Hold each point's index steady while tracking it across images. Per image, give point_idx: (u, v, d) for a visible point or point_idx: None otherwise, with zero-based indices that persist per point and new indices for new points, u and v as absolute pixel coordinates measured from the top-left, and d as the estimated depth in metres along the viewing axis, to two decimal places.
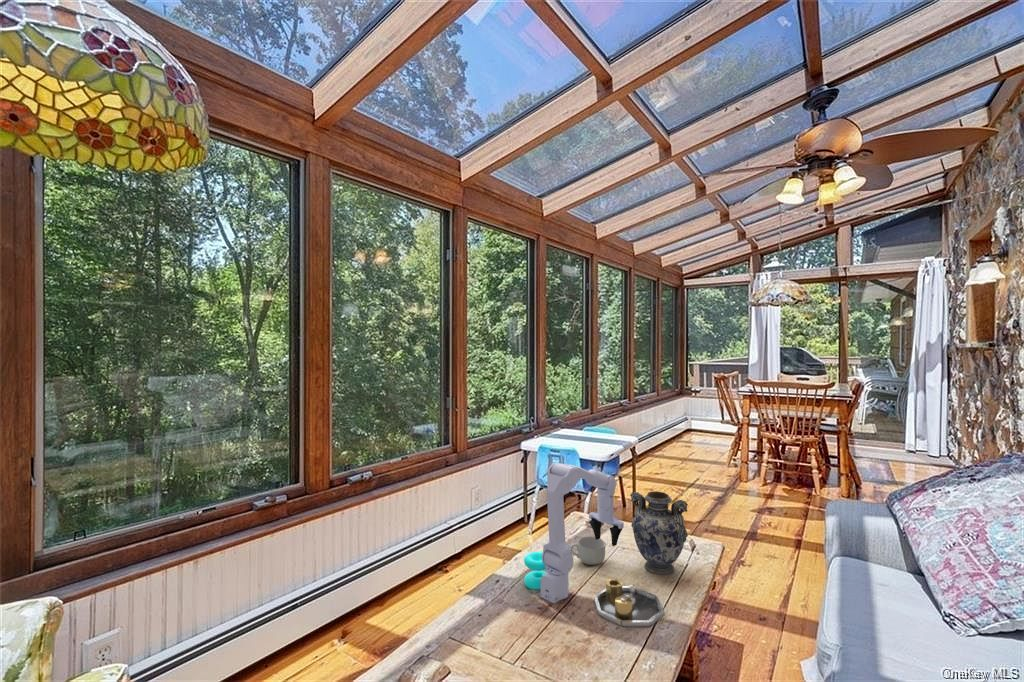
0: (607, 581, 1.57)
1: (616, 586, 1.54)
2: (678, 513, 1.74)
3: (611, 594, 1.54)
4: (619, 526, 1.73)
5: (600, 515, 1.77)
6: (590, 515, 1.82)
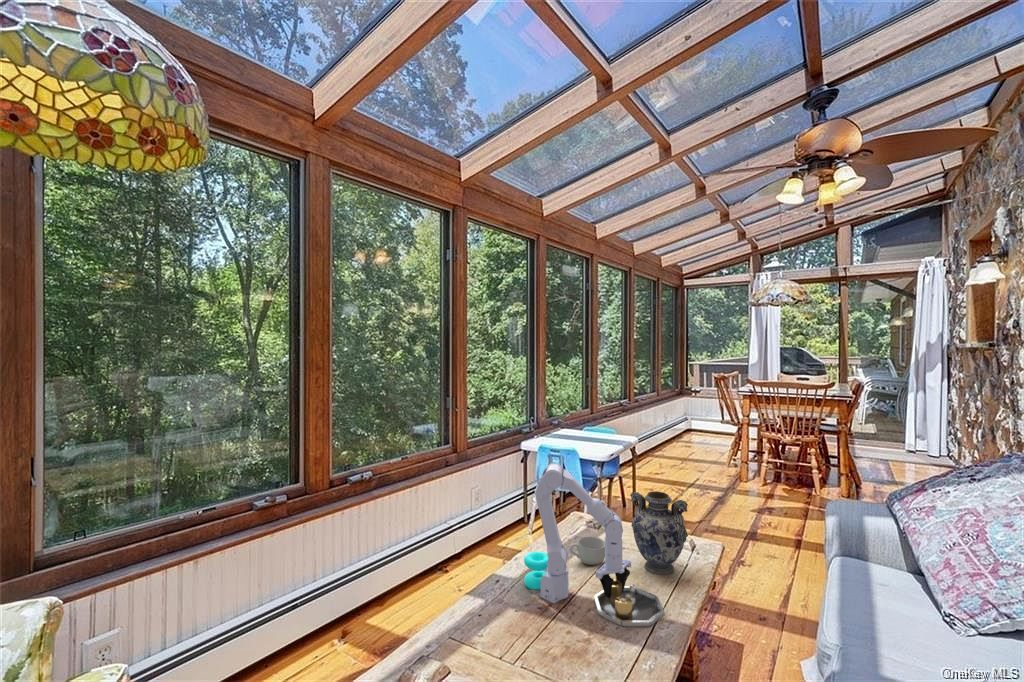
0: None
1: (616, 586, 1.54)
2: (678, 513, 1.74)
3: (611, 594, 1.54)
4: None
5: None
6: None
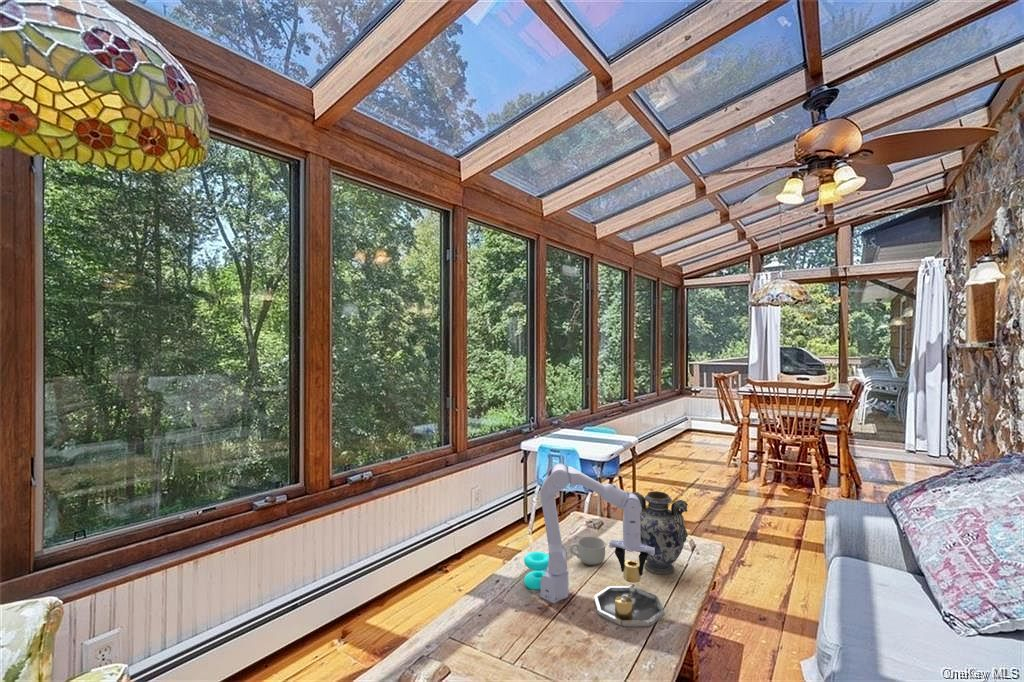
0: (630, 560, 1.59)
1: (627, 565, 1.55)
2: (678, 513, 1.74)
3: None
4: None
5: None
6: None
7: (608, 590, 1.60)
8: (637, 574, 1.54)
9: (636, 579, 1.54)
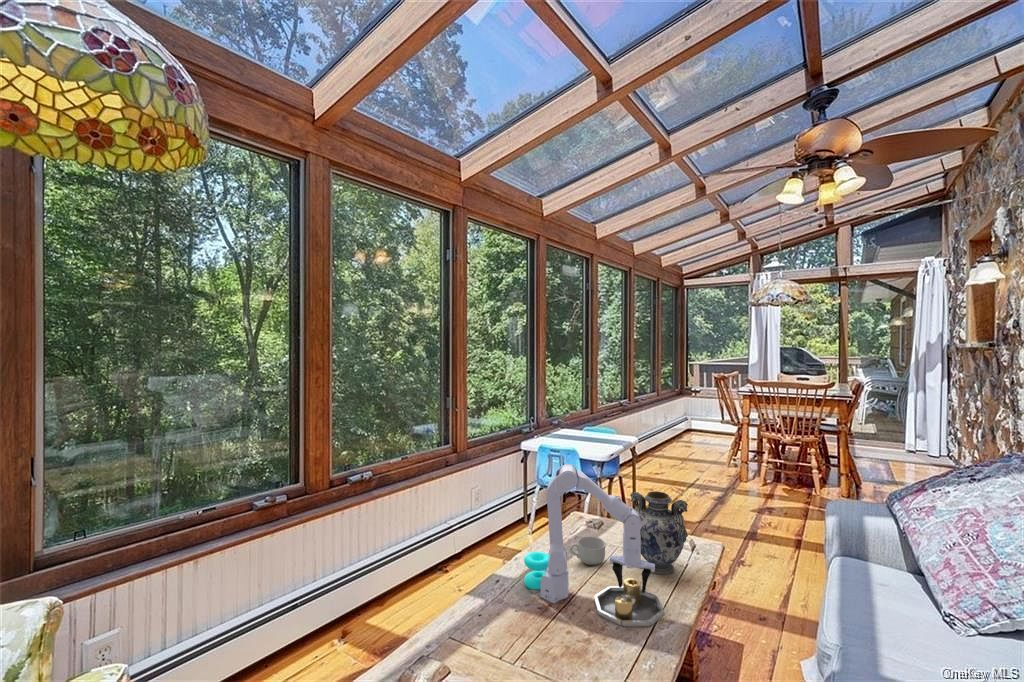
0: (630, 578, 1.59)
1: (628, 584, 1.55)
2: (678, 513, 1.74)
3: (624, 590, 1.57)
4: None
5: None
6: None
7: (608, 590, 1.60)
8: (637, 593, 1.54)
9: (636, 598, 1.54)
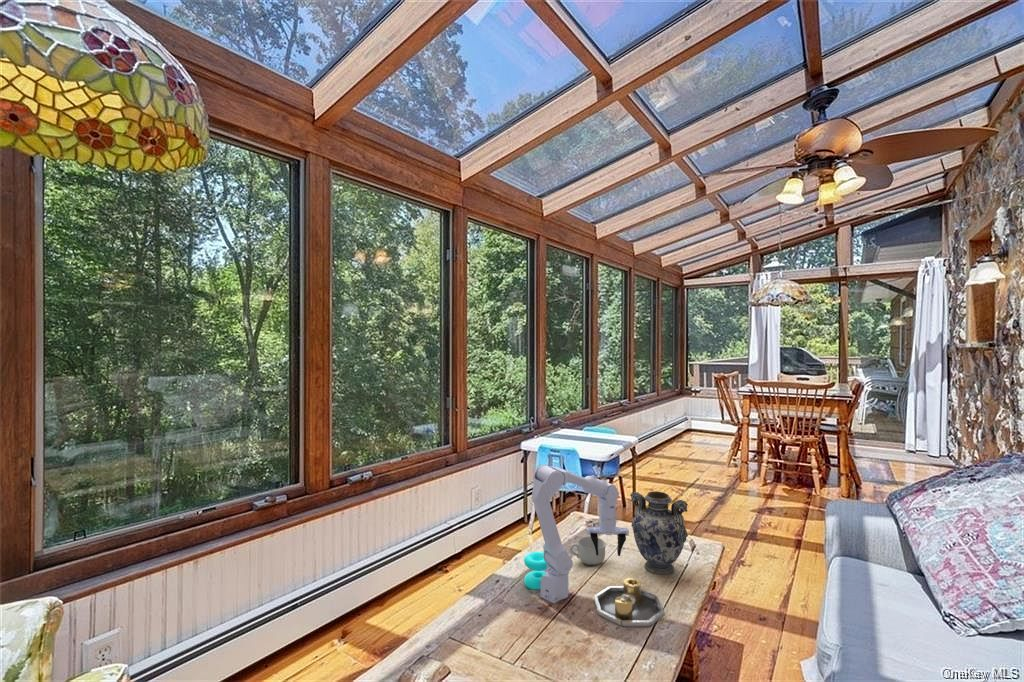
0: (630, 578, 1.59)
1: (628, 584, 1.55)
2: (678, 513, 1.74)
3: (624, 590, 1.57)
4: None
5: None
6: None
7: (608, 590, 1.60)
8: (637, 593, 1.54)
9: (636, 598, 1.54)
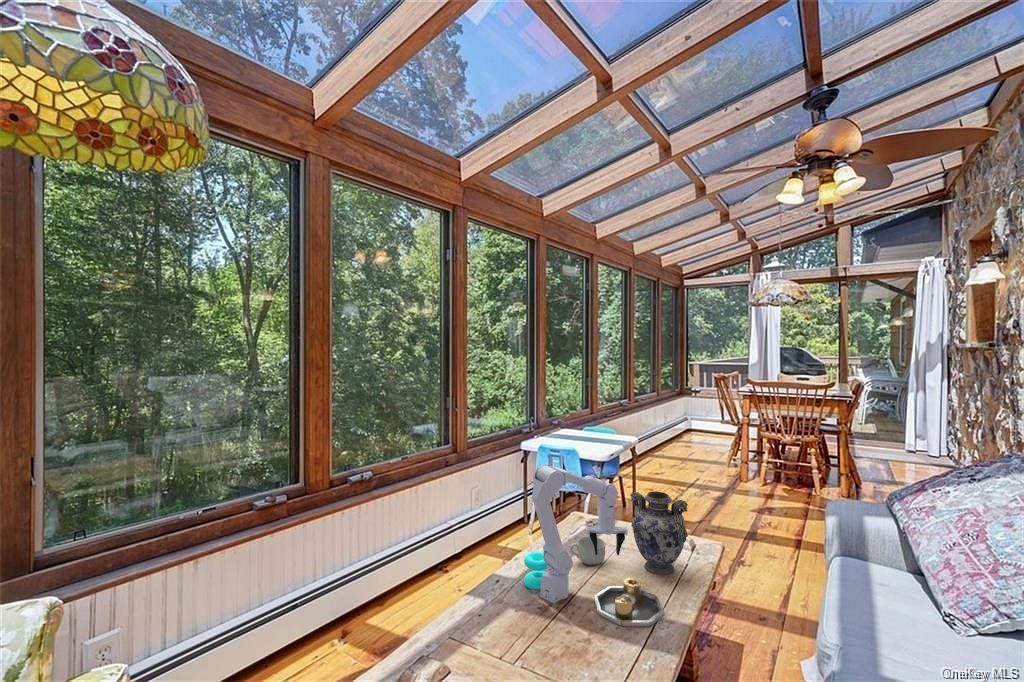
0: (630, 578, 1.59)
1: (628, 584, 1.55)
2: (678, 513, 1.74)
3: (624, 590, 1.57)
4: None
5: None
6: None
7: (608, 590, 1.60)
8: (637, 593, 1.54)
9: (636, 598, 1.54)
